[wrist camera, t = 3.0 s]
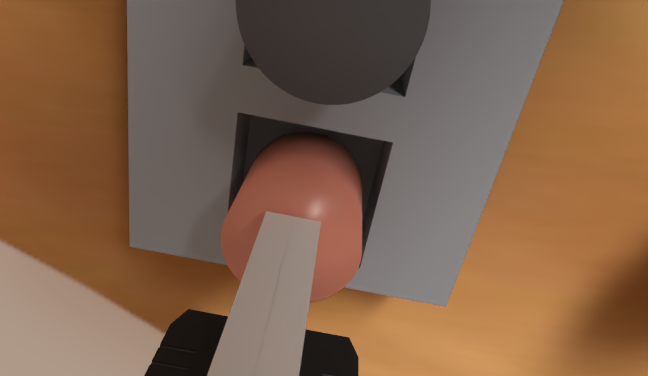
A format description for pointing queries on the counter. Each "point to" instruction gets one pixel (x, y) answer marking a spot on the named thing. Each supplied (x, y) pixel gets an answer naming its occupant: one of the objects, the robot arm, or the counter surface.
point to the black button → (333, 44)
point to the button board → (330, 133)
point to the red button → (302, 205)
